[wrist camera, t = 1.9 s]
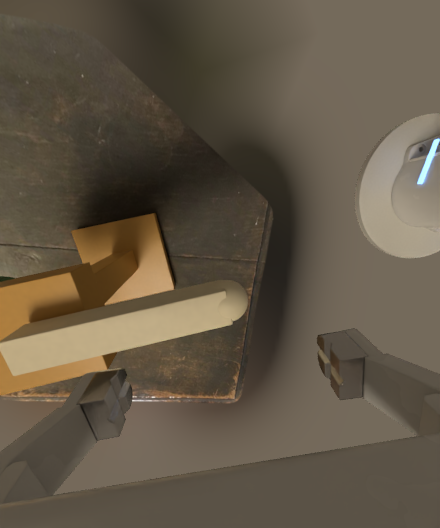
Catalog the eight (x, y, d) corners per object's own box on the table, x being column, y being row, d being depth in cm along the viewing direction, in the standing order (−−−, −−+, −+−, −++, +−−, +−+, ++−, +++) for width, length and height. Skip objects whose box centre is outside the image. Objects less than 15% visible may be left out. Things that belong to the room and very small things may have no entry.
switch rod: (240, 271, 17) (248, 283, 14) (246, 306, 18) (255, 324, 15) (25, 320, 16) (-9, 342, 14) (41, 354, 17) (11, 381, 14)
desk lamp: (155, 212, 41) (84, 222, 15) (175, 285, 45) (144, 395, 19) (53, 234, 41) (-206, 283, 14) (81, 307, 44) (-87, 452, 18)
